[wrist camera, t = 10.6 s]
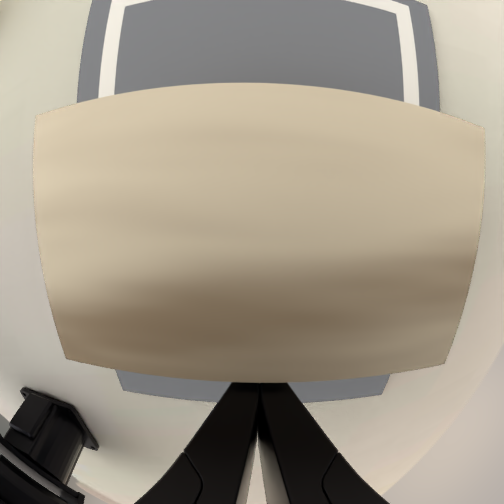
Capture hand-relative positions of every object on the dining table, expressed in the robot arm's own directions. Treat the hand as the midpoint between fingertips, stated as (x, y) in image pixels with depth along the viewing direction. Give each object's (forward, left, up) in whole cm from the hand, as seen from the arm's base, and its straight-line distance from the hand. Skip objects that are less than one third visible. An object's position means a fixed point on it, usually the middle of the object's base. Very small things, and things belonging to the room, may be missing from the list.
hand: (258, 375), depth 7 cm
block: (+1, 0, -2) cm, 2 cm away
